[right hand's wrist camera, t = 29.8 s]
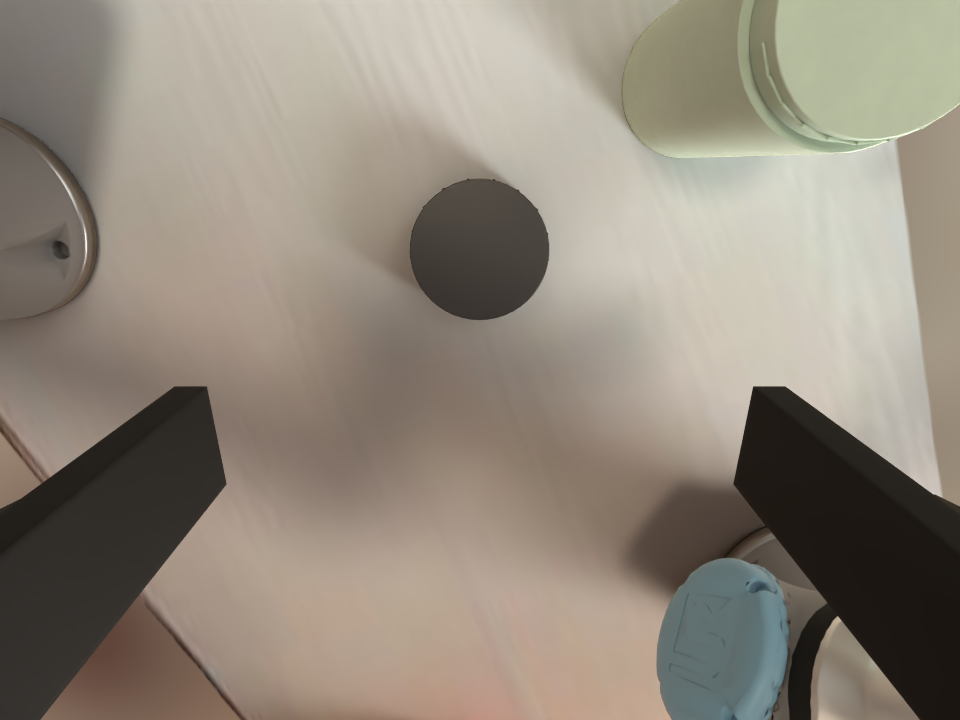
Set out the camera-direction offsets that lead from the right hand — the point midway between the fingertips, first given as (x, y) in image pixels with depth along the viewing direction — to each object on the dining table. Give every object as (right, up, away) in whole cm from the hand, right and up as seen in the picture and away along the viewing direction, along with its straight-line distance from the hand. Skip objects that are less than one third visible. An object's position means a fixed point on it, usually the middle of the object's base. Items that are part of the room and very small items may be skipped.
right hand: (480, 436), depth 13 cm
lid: (0, +10, +27) cm, 29 cm away
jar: (+15, +22, +24) cm, 36 cm away
